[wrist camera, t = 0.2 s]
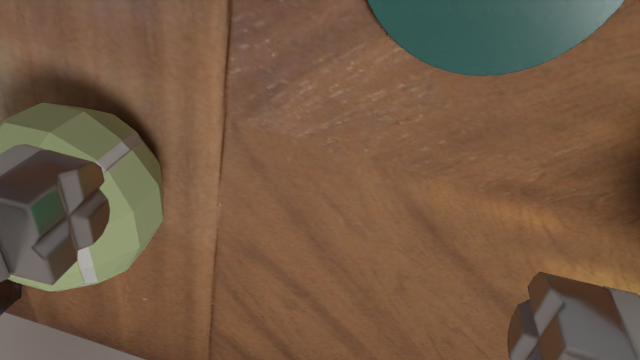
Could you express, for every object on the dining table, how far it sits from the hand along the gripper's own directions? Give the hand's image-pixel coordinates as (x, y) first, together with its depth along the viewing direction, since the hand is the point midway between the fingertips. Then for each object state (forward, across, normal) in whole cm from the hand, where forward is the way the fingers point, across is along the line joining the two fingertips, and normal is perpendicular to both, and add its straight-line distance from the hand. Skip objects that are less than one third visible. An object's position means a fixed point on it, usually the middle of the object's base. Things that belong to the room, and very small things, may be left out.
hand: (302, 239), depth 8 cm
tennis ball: (+27, +24, +20) cm, 41 cm away
